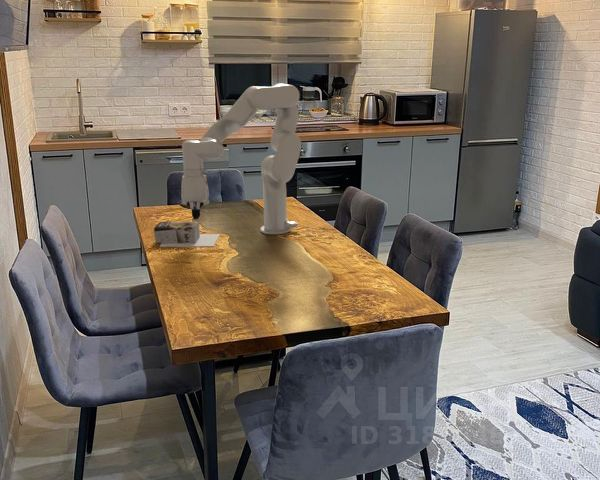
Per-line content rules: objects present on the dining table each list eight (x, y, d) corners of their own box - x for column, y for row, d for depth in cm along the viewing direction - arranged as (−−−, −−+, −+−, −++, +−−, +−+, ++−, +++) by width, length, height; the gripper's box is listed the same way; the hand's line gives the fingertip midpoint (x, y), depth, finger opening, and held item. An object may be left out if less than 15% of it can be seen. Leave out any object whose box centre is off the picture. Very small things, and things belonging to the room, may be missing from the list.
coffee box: (194, 227, 231) (153, 227, 231) (195, 243, 233) (154, 243, 233) (199, 221, 239) (159, 221, 239) (199, 236, 241) (160, 236, 242)
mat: (220, 234, 244) (220, 234, 244) (213, 246, 229) (213, 246, 229) (169, 234, 245) (169, 234, 245) (159, 246, 230) (159, 245, 230)
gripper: (214, 170, 232) (216, 216, 238) (176, 170, 233) (179, 216, 238) (211, 174, 225) (213, 221, 230) (172, 174, 225) (175, 221, 231)
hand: (196, 218), depth 234 cm, fingers closed
